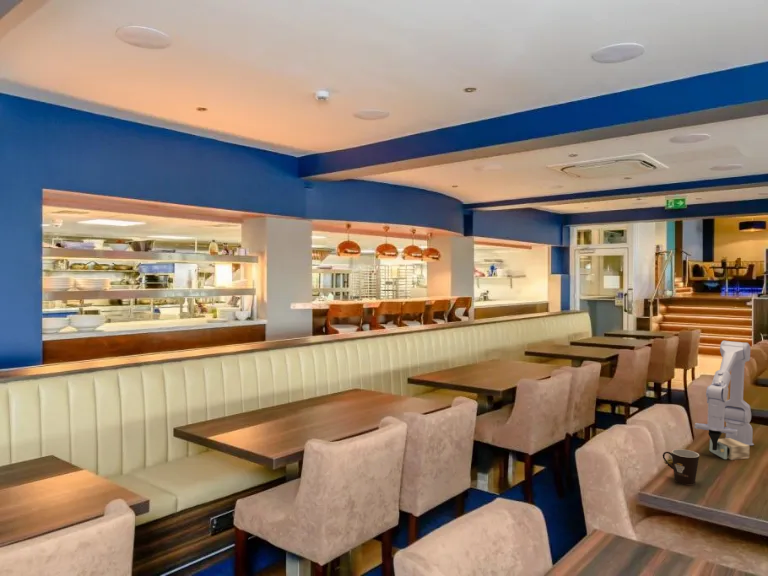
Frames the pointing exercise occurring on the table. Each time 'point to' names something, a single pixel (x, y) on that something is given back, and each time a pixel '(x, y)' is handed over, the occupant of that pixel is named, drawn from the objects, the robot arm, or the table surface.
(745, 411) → the robot arm
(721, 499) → the table surface
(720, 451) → the door
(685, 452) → the coffee mug
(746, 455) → the cabinet
